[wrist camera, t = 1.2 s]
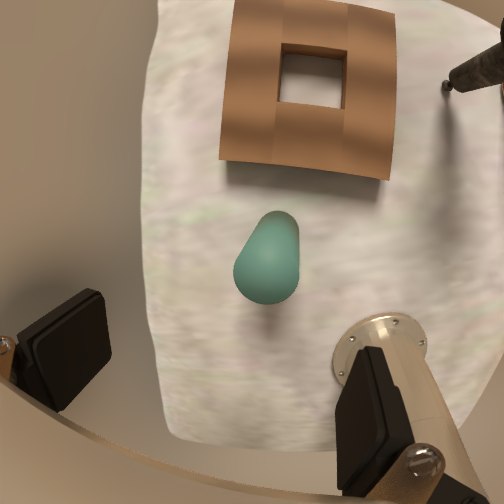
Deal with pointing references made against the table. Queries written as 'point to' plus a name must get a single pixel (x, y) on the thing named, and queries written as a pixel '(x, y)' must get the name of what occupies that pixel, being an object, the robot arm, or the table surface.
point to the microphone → (479, 70)
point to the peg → (269, 260)
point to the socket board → (302, 115)
